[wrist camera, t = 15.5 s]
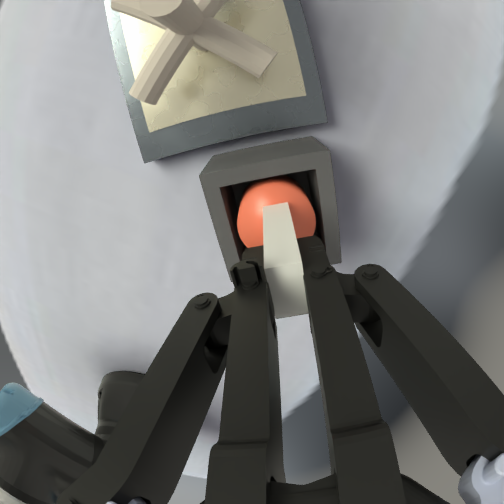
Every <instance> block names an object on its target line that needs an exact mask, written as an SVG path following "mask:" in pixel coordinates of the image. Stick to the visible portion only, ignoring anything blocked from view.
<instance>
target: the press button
mask: <svg viewBox="0 0 504 504" xmlns="http://www.w3.org/2000/svg"><path fill="white" fill-rule="evenodd" d="M285 202H288V205H289V209H290V213H291V217H292V222H293V226H294V230H295V234H296V238H302V237H307V236H313V234H314V231H315V226H316V218H315V213H314V210H313V208H312V206H311V203H310V201H309V199H308V197H307V195H306V193H305V191H304V189H303V188H302V186H301V185H300V184H299V183H298V182H297V181H295V180H294V179H292V178H291V177H288V176H285V175H278V176H273V177H267V178H262V179H257V180H254V181H252V182H251V183H250V184H249V185H248V186H247V187H246V189H245V190H244V192H243V194H242V197H241V200H240V206H239V213H238V220H237V228H238V233H239V236H240V238H241V240H242V242H243V243H244V244H245V245H246V247H247V248H250V247H256V246H261V245H263V207H264V206H269V205H274V204H280V203H285Z"/></svg>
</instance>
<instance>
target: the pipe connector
mask: <svg viewBox="0 0 504 504" xmlns="http://www.w3.org/2000/svg"><path fill="white" fill-rule="evenodd" d="M226 1H227V0H111V8H112V10H114V11H117V12H120V13H123V14H125V15H128V16H131V17H134V18H137V19H139V20H142V21H144V22H147V23H150V24H152V25H155V26H157V27H159V28H162V29H164V30H166V31H165V33H164V34H163V36H162V37H161V39H160V40H159V42H158V43H157V45H156V46H155V48H154V50H153V51H152V53H151V54H150V56H149V58H148V59H147V61H146V63H145V64H144V66H143V68H142V69H141V71H140V73H139V75H138V76H137V78H136V80H135V82H134V84H133V85H132V87H131V89H130V91H129V94H130V95H131V96H133V97H134V98H136V99H138V100H140V101H142V102H145V103H148V104H151V105H156V104H157V102H158V100H159V99H160V97H161V95H162V93H163V92H164V90H165V88H166V87H167V85H168V83H169V82H170V80H171V78H172V77H173V75H174V73H175V72H176V70H177V69H178V67H179V66H180V64H181V62H182V61H183V59H184V58H185V56H186V55H187V53H188V52H189V50H190V49H191V47H192V46H194V47H195V48H197V49H198V50H201V51H206V50H209V51H211V52H213V53H215V54H217V55H219V56H220V57H222V58H224V59H226V60H228V61H230V62H231V63H233V64H235V65H237V66H239V67H240V68H242V69H244V70H245V71H247V72H249V73H251V74H252V75H254V76H256V77H257V78H260V77H261V75H262V74H263V73H264V72H265V70H266V69H267V68H268V66H269V65H270V64H271V62H272V61H273V59H274V58H275V57H276V55H277V54H278V52H276V51H274V50H273V49H271V48H269V47H268V46H266V45H264V44H263V43H261V42H259V41H257V40H256V39H254V38H252V37H250V36H249V35H247V34H245V33H243V32H241V31H239V30H237V29H235V28H233V27H232V26H230V25H228V24H226V23H224V22H221V21H219V20H217V19H215V18H213V17H214V16H215V15H216V13H217V12H218V11H219V10H220V8H221V7H222V6H223V5H224V3H225V2H226Z"/></svg>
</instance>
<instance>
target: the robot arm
mask: <svg viewBox="0 0 504 504" xmlns="http://www.w3.org/2000/svg"><path fill="white" fill-rule="evenodd" d="M230 274H231V277H232V280H233V284H234V287H235V288H234V292H232V293H230V294H229V295H226V296H224V297H221V298H219V299H218V298H217V296H216V295H215V294H213V293H202V294H199V295H197V296H195V297H194V298H192V299H191V300H190V301H189V302H188V304H187V306H186V307H185V309H184V311H183V312H182V314H181V315H180V317H179V319H178V320H177V322H176V324H175V325H174V327H173V329H172V330H171V332H170V334H169V335H168V337H167V339H166V340H165V342H164V344H163V345H162V347H161V349H160V350H159V352H158V354H157V355H156V357H155V359H154V360H153V362H152V364H151V365H150V367H149V369H148V371H147V372H146V374H145V375H143V374H139V373H134V372H126V371H117V372H112V373H109V374H107V375H105V376H104V378H103V379H102V382H101V384H100V387H99V390H98V398H99V400H98V426H97V429H96V432H95V435H94V434H92V433H91V432H89V431H87V430H86V429H84V428H82V427H81V426H79V425H78V424H76V423H74V422H73V421H71V420H70V419H68V418H67V417H65V416H64V415H62V414H61V413H59V412H58V411H56V410H55V409H53V408H52V407H50V406H49V405H48V404H46V403H45V402H43V401H44V400H43V399H42V398H38V397H37V396H35V395H34V394H32V393H31V392H29V391H28V390H27V389H25V388H24V387H23V386H21V385H19V384H17V383H8V384H6V385H5V386H4V387H3V389H2V390H1V391H0V504H167V503H168V502H169V500H170V498H171V496H172V494H173V492H174V490H175V488H176V486H177V484H178V481H179V479H180V477H181V474H182V472H183V470H184V467H185V465H186V463H187V460H188V458H189V455H190V453H191V451H192V448H193V446H194V444H195V441H196V439H197V436H198V434H199V431H200V429H201V427H202V424H203V422H204V419H205V417H206V415H207V412H208V410H209V407H210V405H211V402H212V400H213V397H214V395H215V392H216V390H217V387H218V385H219V383H220V380H221V378H222V375H223V373H224V370H225V368H226V372H225V382H224V392H223V402H222V412H221V423H220V433H219V440H218V442H217V443H216V444H214V445H213V446H212V448H211V451H210V456H209V465H208V475H207V485H206V496H205V500H204V501H203V502H202V503H200V504H450V503H448V502H446V501H445V500H443V499H442V498H440V497H439V496H437V495H435V494H434V493H432V492H431V491H429V490H428V489H426V488H425V487H423V486H422V485H420V484H419V483H417V482H416V481H414V480H413V479H411V478H409V477H407V476H405V475H403V474H400V470H399V465H398V461H397V456H396V452H395V448H394V443H393V439H392V435H391V432H390V429H389V426H388V424H387V423H386V422H384V421H383V420H382V417H381V414H380V410H379V406H378V403H377V399H376V395H375V392H374V388H373V384H372V381H371V377H370V374H369V370H368V367H367V364H366V360H365V357H364V354H363V351H362V348H361V344H360V341H359V338H358V335H357V331H356V328H355V325H356V327H357V329H358V330H359V331H360V333H361V334H362V336H363V337H364V338H365V340H366V341H367V343H368V344H369V345H370V347H371V348H372V350H373V351H374V353H375V354H376V355H377V357H378V358H379V360H380V361H381V362H382V364H383V365H384V367H385V368H386V370H387V371H388V373H389V374H390V376H391V377H392V379H393V380H394V382H395V383H396V384H397V386H398V387H399V389H400V390H401V392H402V393H403V395H404V396H405V398H406V399H407V401H408V402H409V404H410V405H411V407H412V408H413V410H414V412H415V413H416V414H417V416H418V417H419V419H420V421H421V422H422V424H423V425H424V427H425V428H426V430H427V431H428V433H429V435H430V436H431V438H432V439H433V441H434V443H435V444H436V446H437V447H438V449H439V450H440V452H441V454H442V455H443V457H444V458H445V460H446V461H447V462H448V464H449V465H450V466H451V467H452V468H453V469H454V470H455V471H456V472H457V474H459V475H460V476H461V478H460V481H459V486H458V490H459V494H460V496H461V497H462V498H463V500H464V501H465V503H466V504H504V395H503V394H502V392H501V391H500V390H499V389H498V387H497V386H496V385H495V384H494V383H493V381H492V380H491V379H490V378H489V377H488V376H487V374H486V373H485V372H484V371H483V370H482V368H481V367H480V366H479V365H478V364H477V363H476V362H475V361H474V359H473V358H472V357H471V356H470V355H469V354H468V353H467V351H465V349H464V348H463V347H462V346H461V345H460V344H459V343H458V342H457V340H456V339H455V338H454V337H453V336H452V335H451V334H450V333H449V332H448V331H447V330H446V329H445V328H444V327H443V326H442V325H441V324H440V323H439V321H437V319H436V318H435V317H434V316H432V314H431V313H430V312H429V311H428V310H427V309H426V308H425V307H424V306H423V305H422V304H421V303H420V302H419V301H418V300H417V299H416V298H415V297H414V296H413V295H412V294H411V293H410V292H409V291H408V290H407V289H405V288H404V287H403V286H402V285H401V284H400V283H399V282H398V281H397V280H396V279H395V278H394V277H393V276H392V275H391V274H390V273H389V272H388V271H386V270H385V269H384V268H383V267H381V266H379V265H375V264H366V265H362V266H360V267H358V268H357V269H356V271H355V274H342V273H338V272H336V271H335V269H334V268H333V266H331V265H330V262H329V260H328V257H327V254H326V252H325V249H324V246H323V244H322V241H321V239H320V238H318V237H317V236H315V235H313V236H307V237H302V238H296V234H295V230H294V226H293V222H292V217H291V213H290V209H289V205H288V202H285V203H280V204H274V205H269V206H264V207H263V245H261V246H256V247H250V248H246V250H245V251H244V252H243V254H242V261H240V262H238V263H236V264H234V265H233V266H232V267H231V269H230ZM303 314H309V320H310V328H311V334H312V338H313V343H314V349H315V356H316V362H317V368H318V374H319V381H320V388H321V394H322V401H323V408H324V416H325V423H326V430H327V439H328V447H329V455H330V465H331V475H330V476H328V477H326V478H323V479H320V480H317V481H315V482H312V483H309V484H306V485H296V484H288V483H286V480H285V473H284V466H283V442H282V417H281V396H280V376H279V358H278V340H277V326H276V322H275V318H276V319H278V318H285V317H291V316H297V315H303ZM354 323H355V325H354Z"/></svg>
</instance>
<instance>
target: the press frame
mask: <svg viewBox="0 0 504 504" xmlns="http://www.w3.org/2000/svg"><path fill="white" fill-rule="evenodd" d="M104 4H105V10H106V15H107V21H108V26H109V31H110V36H111V41H112V45H113V50H114V54H115V59H116V63H117V67H118V71H119V75H120V80H121V83H122V87H123V91H124V95H125V99H126V103H127V106H128V110H129V114H130V117H131V121H132V124H133V128H134V131H135V135H136V138H137V141H138V145H139V148H140V151H141V154H142V158H143V161H144V163H147V162H151V161H154V160H157V159H160V158H164V157H167V156H170V155H174V154H177V153H181V152H185V151H188V150H192V149H196V148H199V147H203V146H207V145H211V144H215V143H219V142H224V141H228V140H232V139H237V138H241V137H246V136H251V135H256V134H261V133H266V132H271V131H276V130H282V129H288V128H294V127H300V126H307V125H313V124H320V123H328V121H327V115H326V110H325V104H324V99H323V94H322V89H321V84H320V79H319V74H318V70H317V65H316V61H315V56H314V52H313V48H312V44H311V40H310V36H309V32H308V28H307V24H306V21H305V17H304V13H303V10H302V6H301V3H300V0H227V1H226V2H225V3H224V5H223V6H222V7H221V8H220V10H219V11H218V12H217V13H216V15H215V16H214V17H213V18H215V19H217V20H219V21H221V22H224V23H226V24H228V25H230V26H232V27H233V28H235V29H237V30H239V31H241V32H243V33H245V34H247V35H249V36H250V37H252V38H254V39H256V40H257V41H259V42H261V43H263V44H264V45H266V46H268V47H269V48H271V49H273V50H274V51H276V52H278V54H277V55H276V57H275V58H274V59H273V61H272V62H271V64H270V65H269V66H268V68H267V69H266V70H265V72H264V73H263V74H262V75H261V77H260V78H257V77H256V76H254V75H252V74H251V73H249V72H247V71H245V70H244V69H242V68H240V67H239V66H237V65H235V64H233V63H231V62H230V61H228V60H226V59H224V58H222V57H220V56H219V55H217V54H215V53H213V52H211V51H209V50H206V51H201V50H198V49H197V48H195V47H194V46H192V47H191V49H190V50H189V52H188V53H187V55H186V56H185V58H184V59H183V61H182V62H181V64H180V66H179V67H178V69H177V70H176V72H175V73H174V75H173V77H172V78H171V80H170V82H169V83H168V85H167V87H166V88H165V90H164V92H163V93H162V95H161V97H160V99H159V100H158V102H157V104H156V105H151V104H148V103H145V102H142V101H140V100H138V99H136V98H134V97H133V96H131V95H130V94H129V91H130V89H131V87H132V85H133V84H134V82H135V80H136V78H137V76H138V75H139V73H140V71H141V69H142V68H143V66H144V64H145V63H146V61H147V59H148V58H149V56H150V54H151V53H152V51H153V50H154V48H155V46H156V45H157V43H158V42H159V40H160V39H161V37H162V36H163V34H164V33H165V31H166V30H164V29H162V28H159V27H157V26H155V25H152V24H150V23H147V22H144V21H142V20H139V19H137V18H134V17H131V16H128V15H125V14H123V13H120V12H117V11H114V10H112V8H111V0H104Z"/></svg>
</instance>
